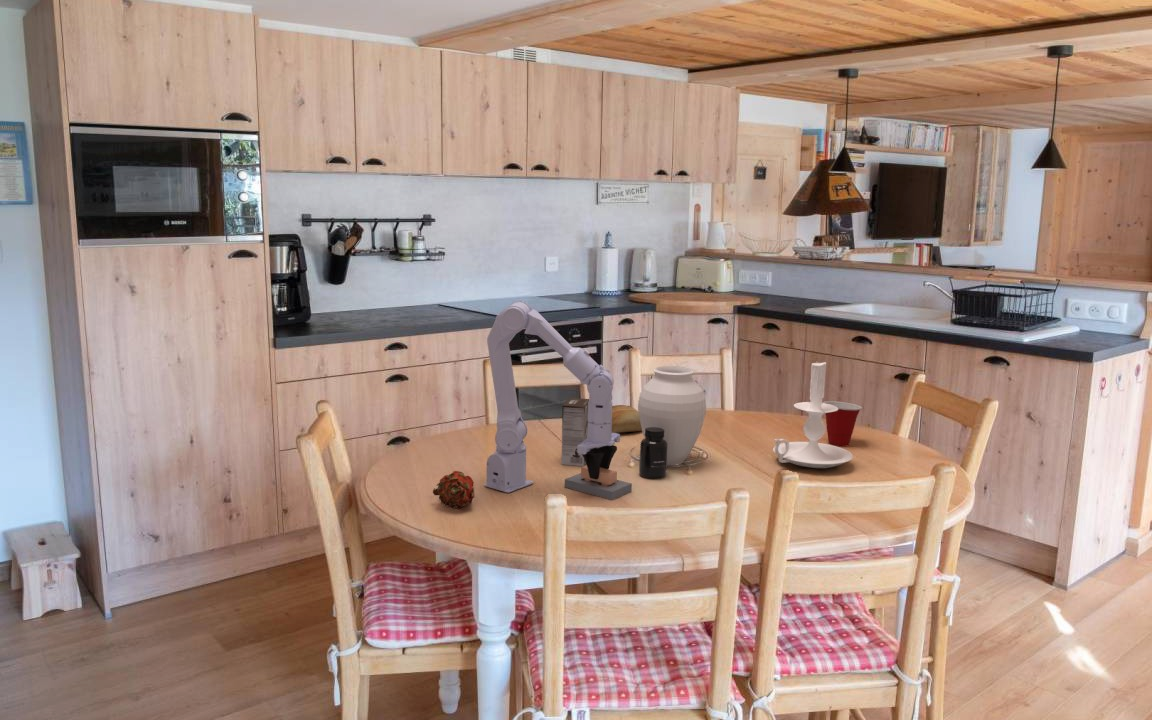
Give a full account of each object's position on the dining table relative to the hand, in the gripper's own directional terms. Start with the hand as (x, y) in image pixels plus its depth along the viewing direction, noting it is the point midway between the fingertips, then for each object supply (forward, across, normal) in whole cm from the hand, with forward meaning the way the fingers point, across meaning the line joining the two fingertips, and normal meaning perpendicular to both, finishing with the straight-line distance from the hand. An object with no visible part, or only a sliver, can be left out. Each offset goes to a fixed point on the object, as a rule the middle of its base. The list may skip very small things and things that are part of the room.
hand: (598, 476), depth 212 cm
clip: (+3, 0, 0) cm, 3 cm away
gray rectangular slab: (+3, 0, 0) cm, 3 cm away
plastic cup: (+3, +79, -29) cm, 84 cm away
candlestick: (+3, +53, -30) cm, 61 cm away
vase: (+3, +31, -1) cm, 31 cm away
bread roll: (+3, +47, +26) cm, 54 cm away
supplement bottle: (+3, +18, -4) cm, 19 cm away
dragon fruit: (+3, -30, +18) cm, 35 cm away
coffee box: (+3, +15, +18) cm, 24 cm away
